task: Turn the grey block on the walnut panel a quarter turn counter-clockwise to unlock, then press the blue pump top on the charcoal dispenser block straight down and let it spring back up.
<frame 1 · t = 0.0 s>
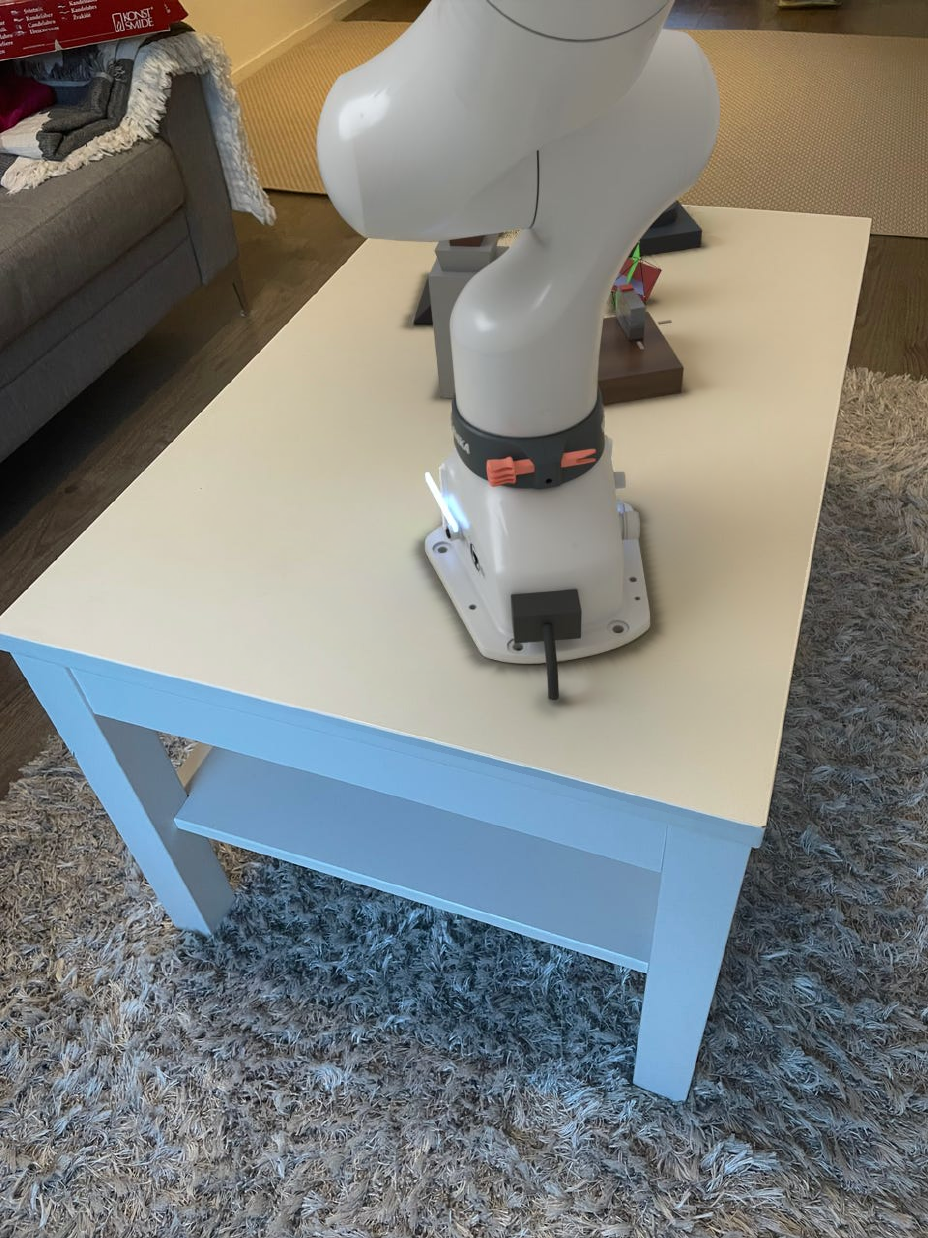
geometric puzzle: (625, 304, 113), on the table
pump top: (650, 198, 123), point 4 cm above the table, slide at 0.1 cm
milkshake: (488, 233, 129), on the table
black triangular piece: (449, 301, 117), on the table
perfume bottle: (477, 383, 104), on the table
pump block: (648, 232, 126), on the table
dial panel: (618, 370, 103), on the table
grey block: (630, 311, 102), point 5 cm above the table, hinge at 0.0°
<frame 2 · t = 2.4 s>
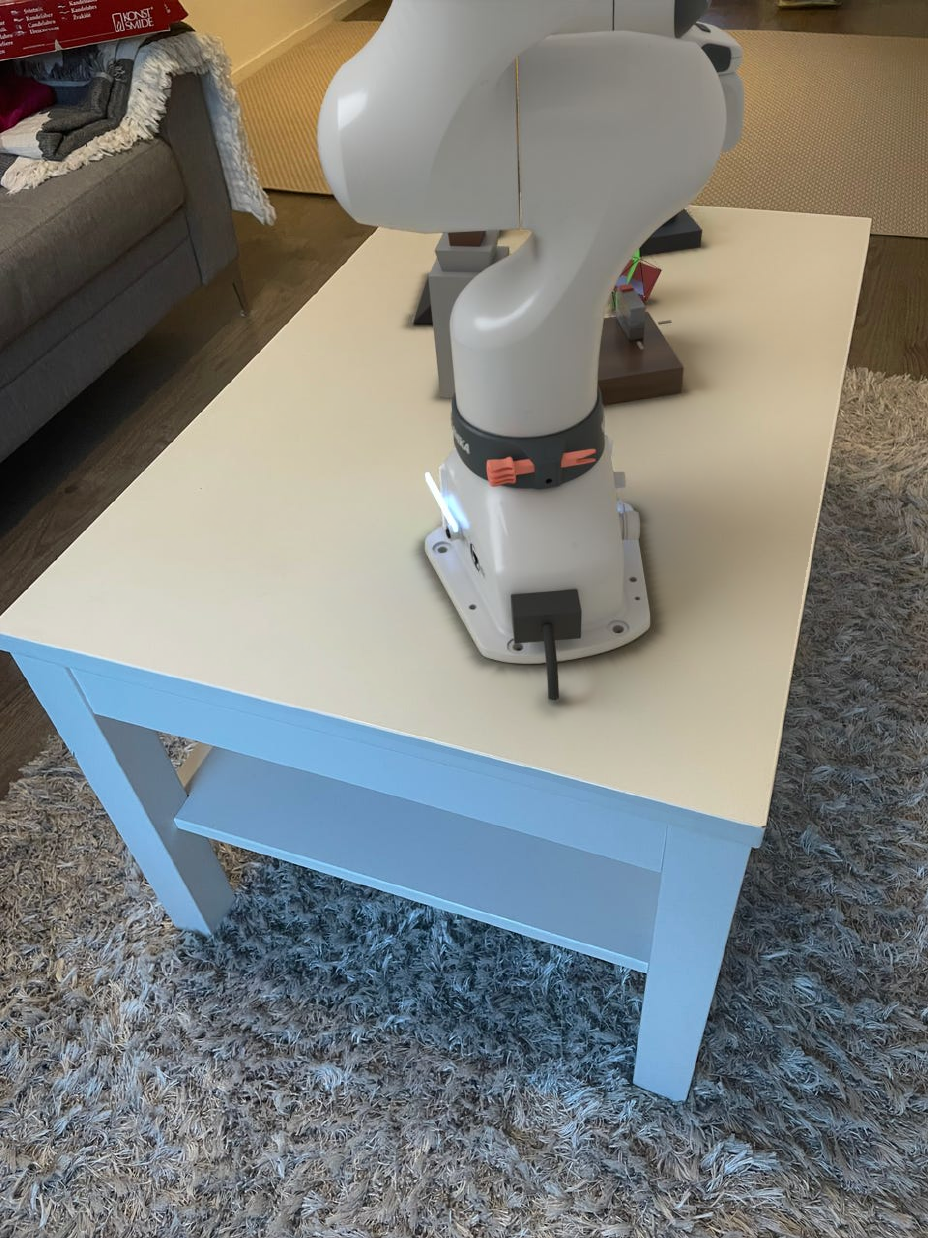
hand: (628, 208, 94), 16 cm above the table, tool pointing down, fingers open, 8 cm apart
nothing on the table moved.
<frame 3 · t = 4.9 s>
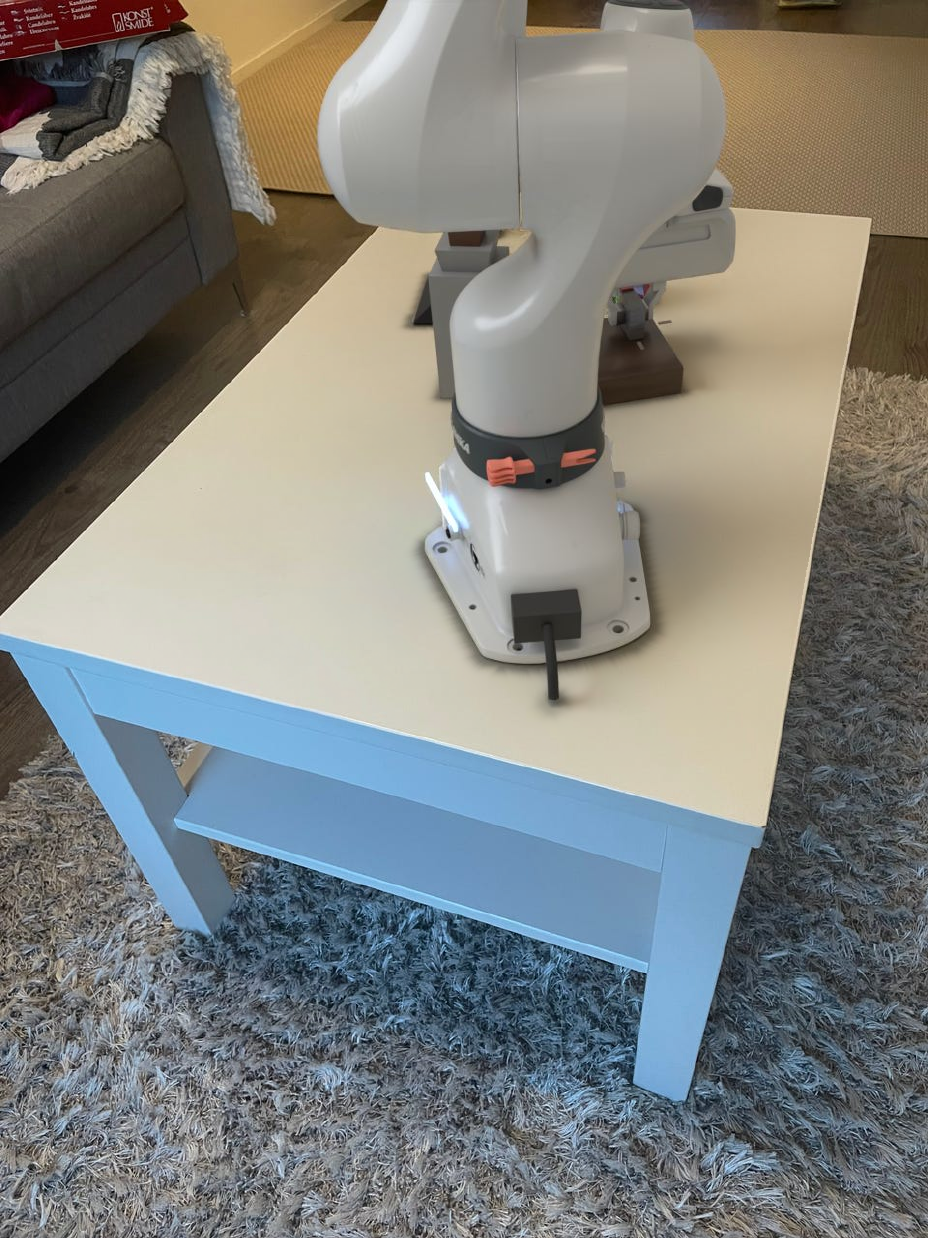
hand: (630, 320, 103), 4 cm above the table, tool pointing down, fingers closed on grey block, 2 cm apart
grey block: (630, 311, 102), point 5 cm above the table, hinge at 0.0°, touching gripper
everything else where it was.
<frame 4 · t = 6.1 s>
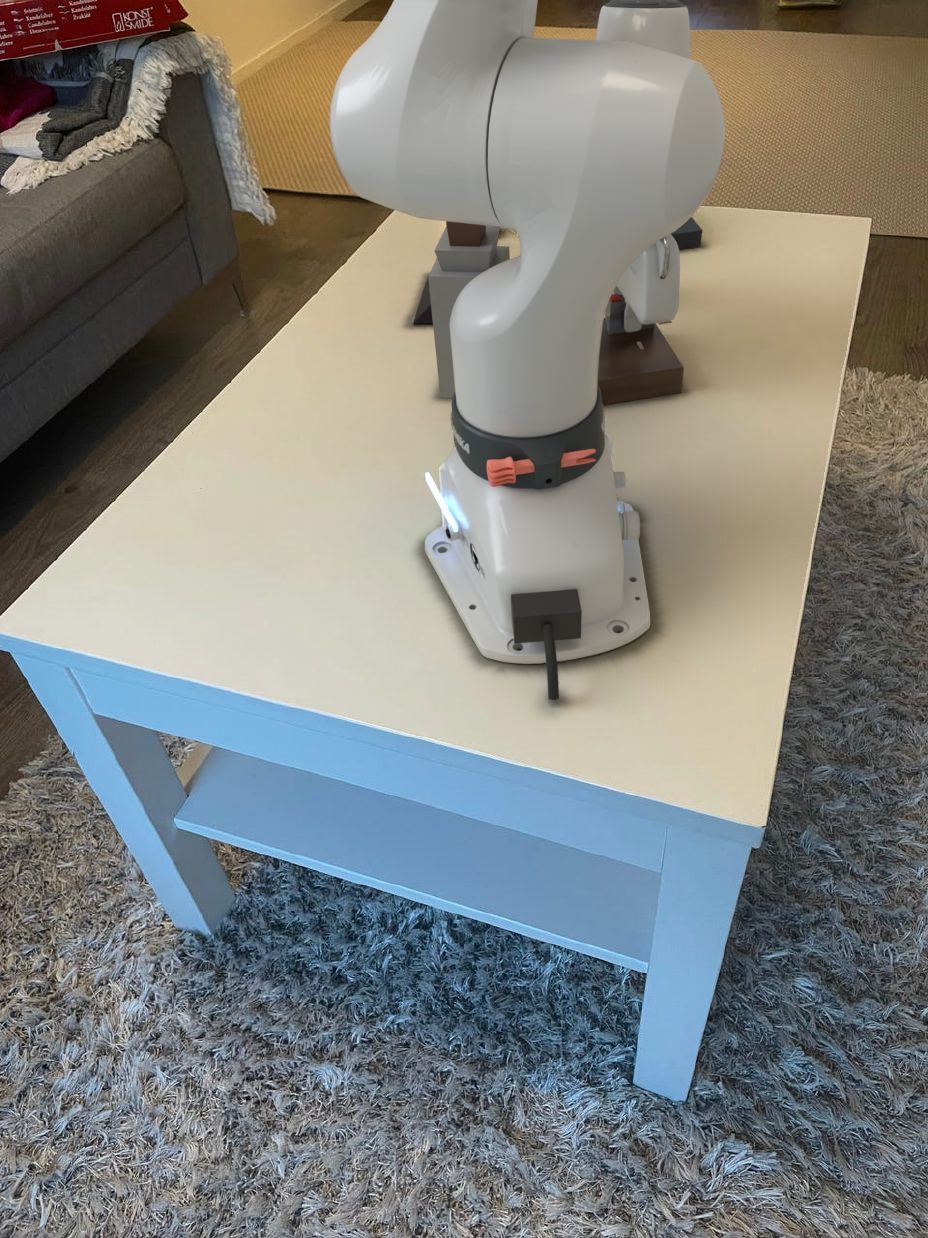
hand: (626, 321, 103), 4 cm above the table, tool pointing down, fingers closed on grey block, 2 cm apart
grey block: (630, 311, 102), point 5 cm above the table, hinge at 90.4°, touching gripper
everything else where it was.
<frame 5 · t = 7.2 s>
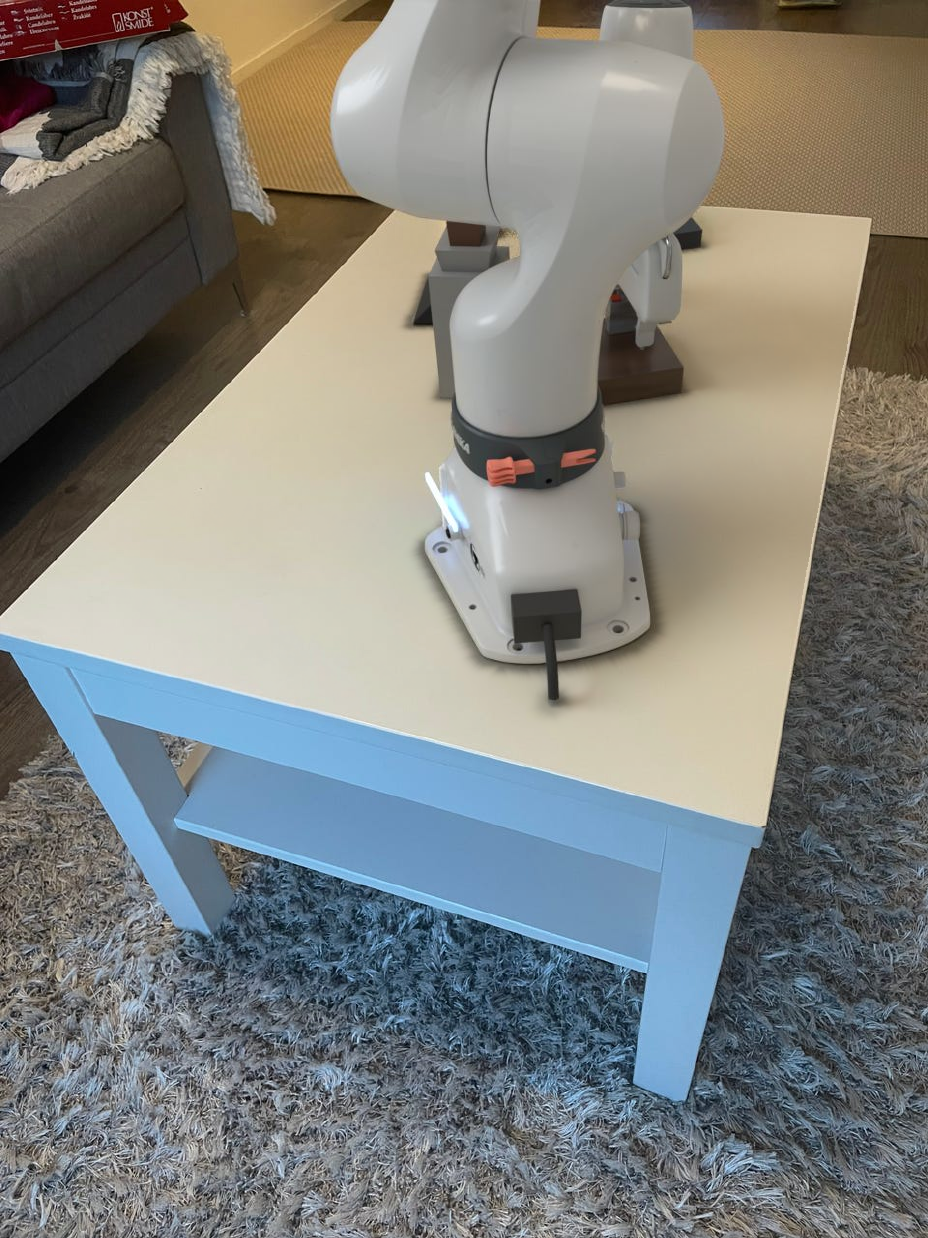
hand: (629, 321, 103), 4 cm above the table, tool pointing down, fingers open, 8 cm apart
grey block: (630, 311, 102), point 5 cm above the table, hinge at 90.4°
everything else where it was.
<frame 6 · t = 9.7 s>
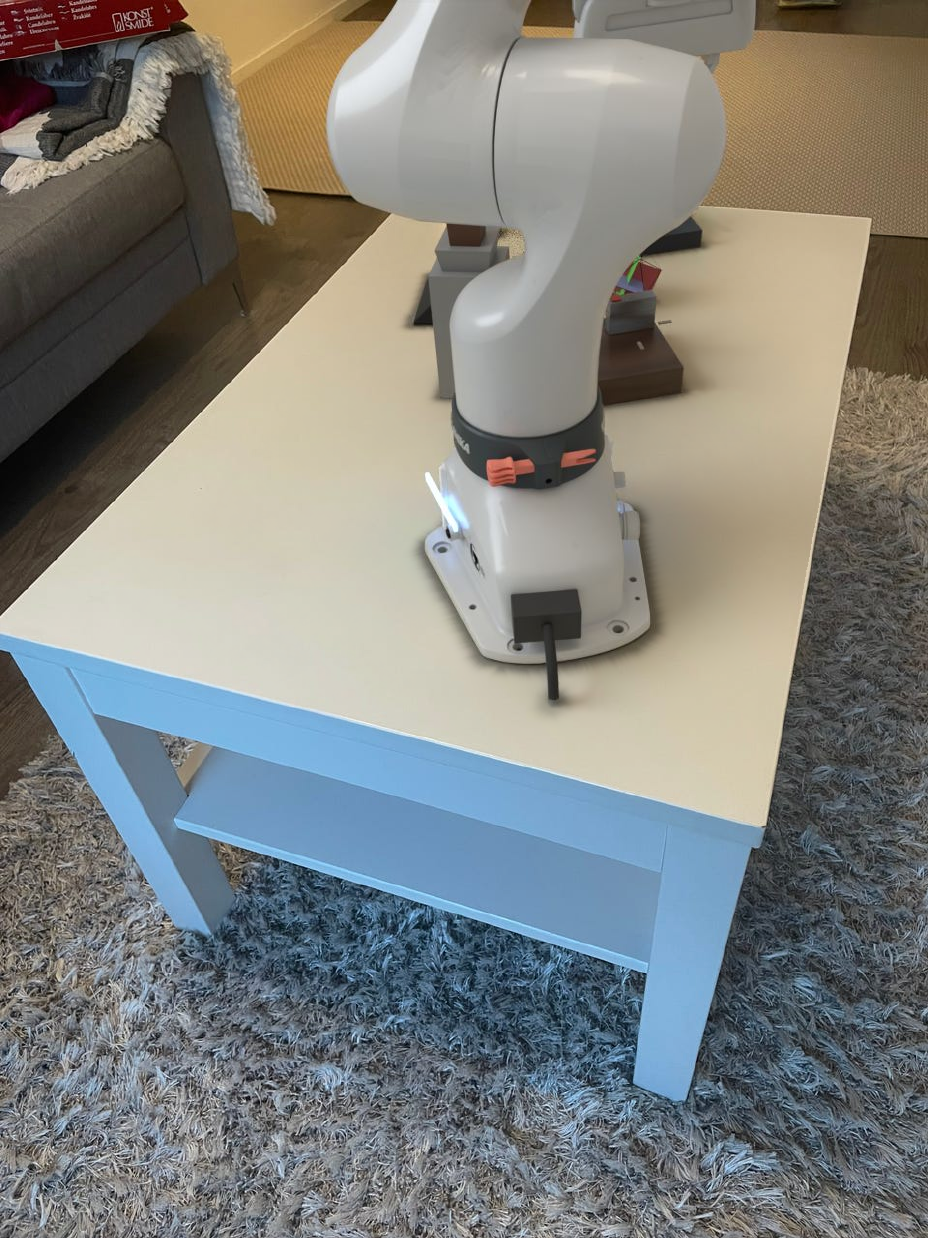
hand: (658, 101, 113), 17 cm above the table, tool pointing down, fingers open, 8 cm apart
nothing on the table moved.
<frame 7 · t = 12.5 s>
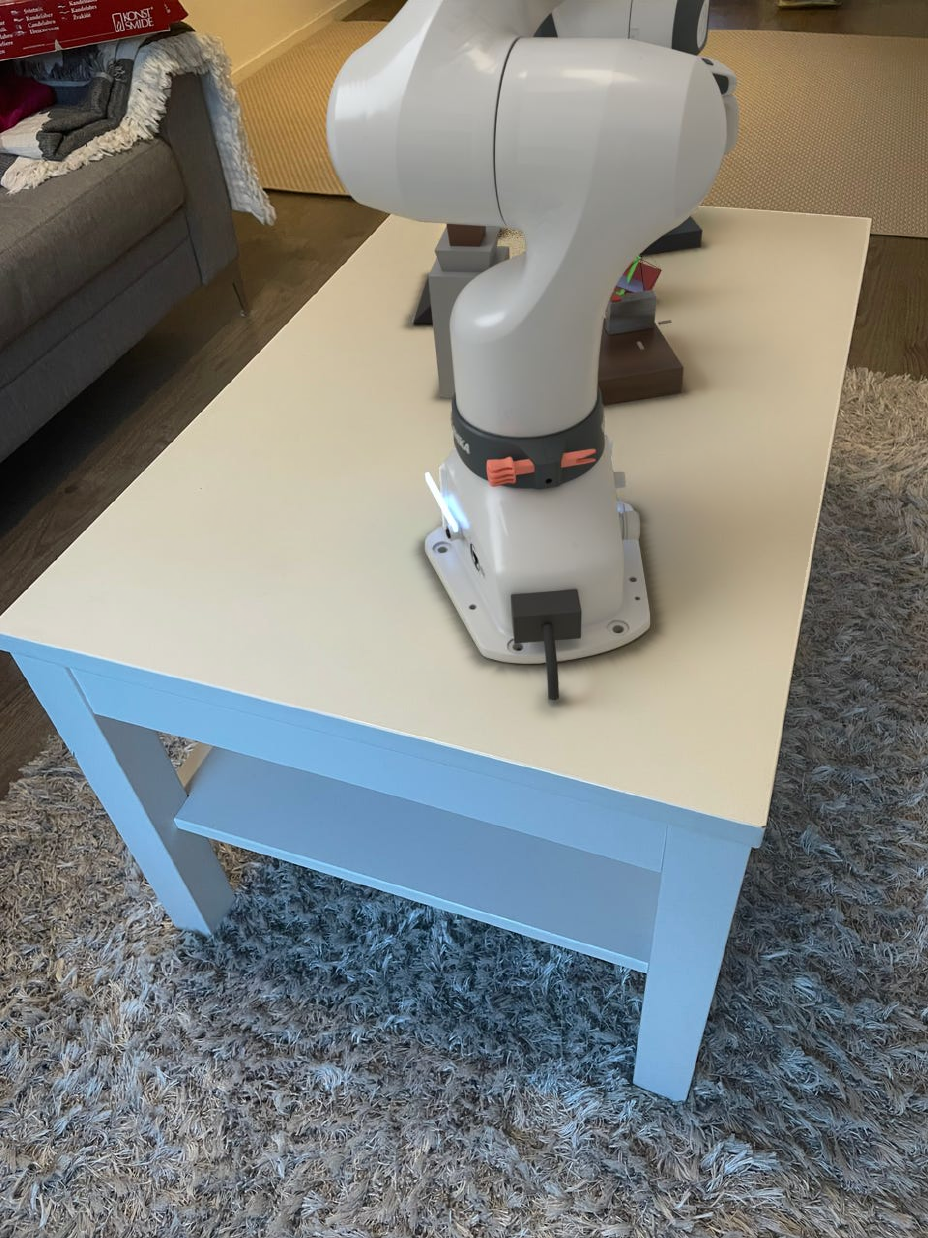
hand: (650, 197, 123), 4 cm above the table, tool pointing down, fingers closed, pressing on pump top
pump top: (649, 205, 123), point 4 cm above the table, slide at -0.8 cm, touching gripper
everything else where it was.
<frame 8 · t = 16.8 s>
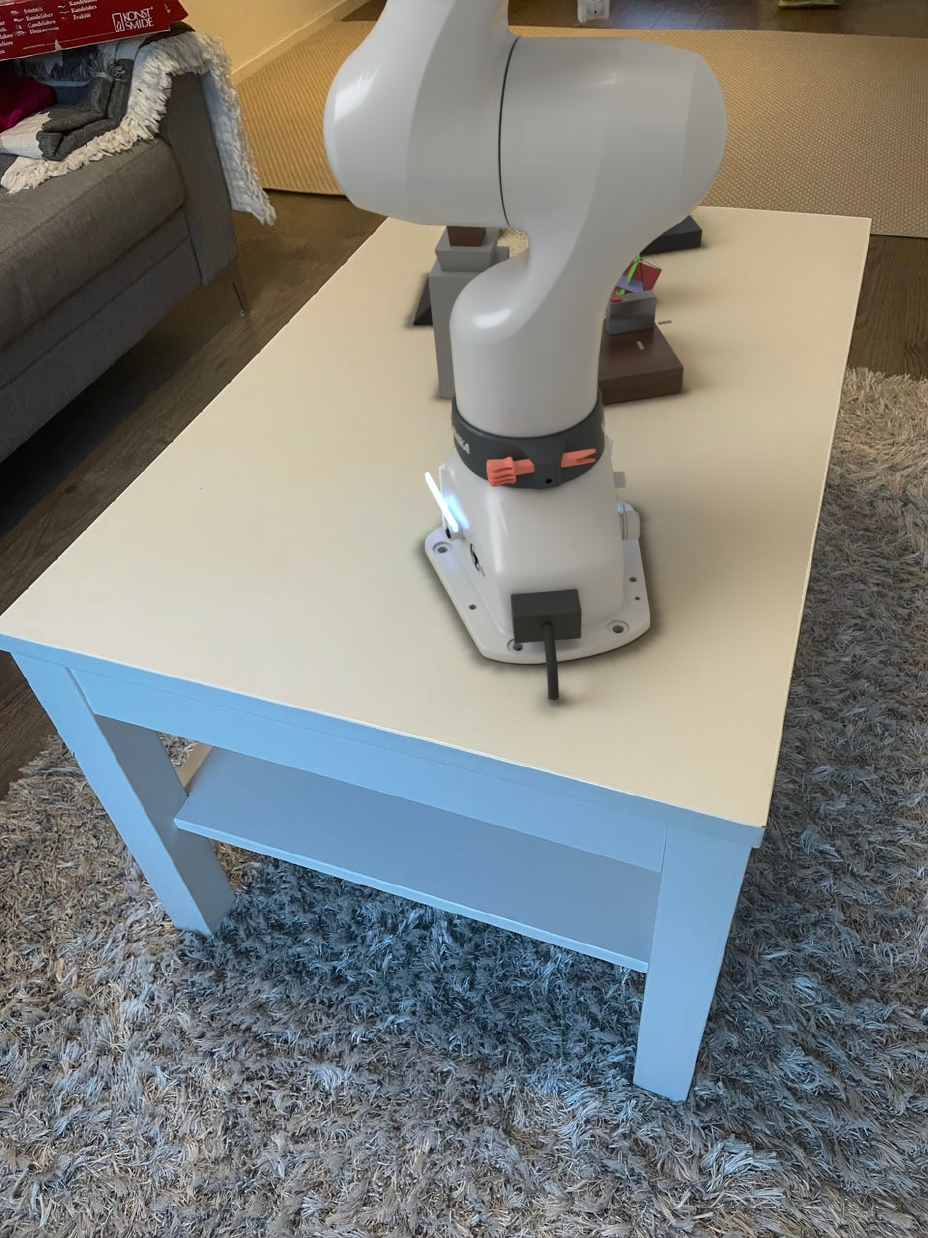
hand: (593, 19, 101), 27 cm above the table, tool pointing down, fingers closed
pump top: (650, 198, 123), point 4 cm above the table, slide at 0.1 cm
everything else where it was.
at the end: grey block at +90° (first picture: +0°); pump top pushed in 1.0 cm at the most during the clip, back to where it started at the end; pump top slide at 0.1 cm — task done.
